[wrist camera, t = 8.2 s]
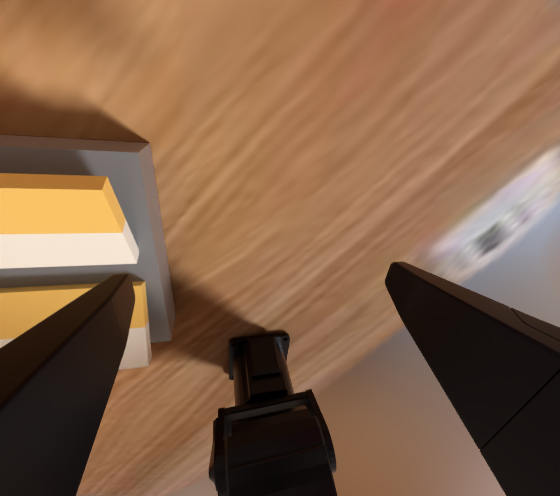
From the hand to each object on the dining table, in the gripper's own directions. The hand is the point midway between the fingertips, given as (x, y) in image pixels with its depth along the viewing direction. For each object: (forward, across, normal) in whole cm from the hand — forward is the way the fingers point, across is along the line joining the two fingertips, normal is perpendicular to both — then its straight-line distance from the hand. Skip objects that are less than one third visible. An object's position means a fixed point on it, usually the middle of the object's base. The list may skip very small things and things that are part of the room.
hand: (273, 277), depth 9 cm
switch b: (+8, +13, +2) cm, 15 cm away
